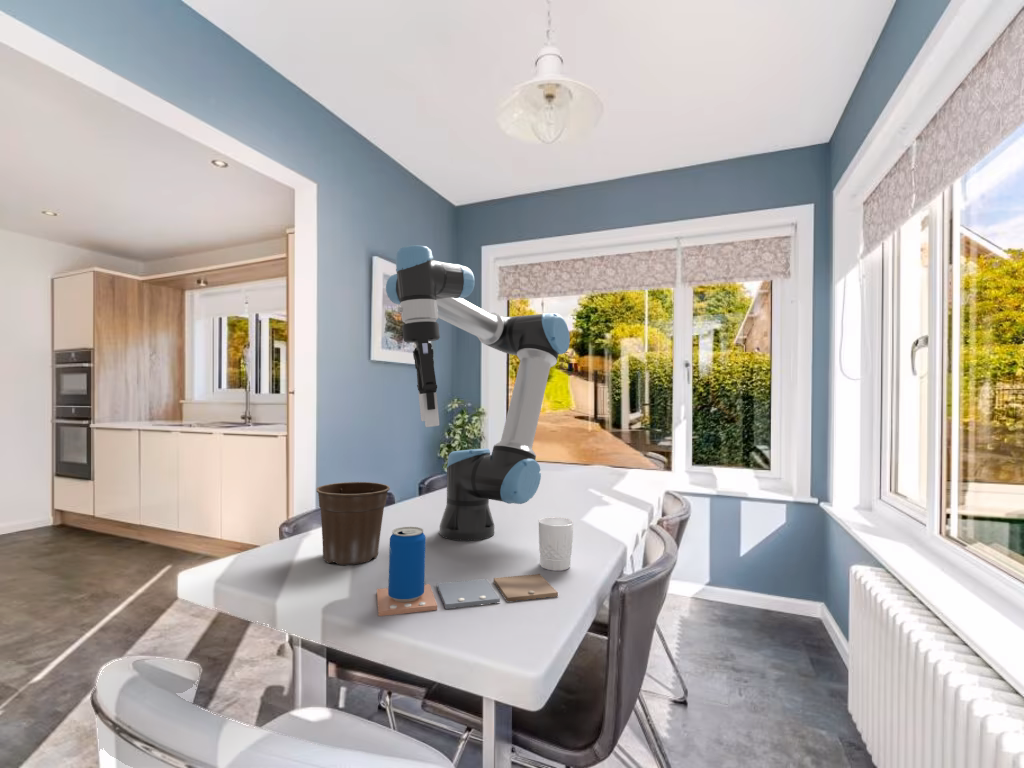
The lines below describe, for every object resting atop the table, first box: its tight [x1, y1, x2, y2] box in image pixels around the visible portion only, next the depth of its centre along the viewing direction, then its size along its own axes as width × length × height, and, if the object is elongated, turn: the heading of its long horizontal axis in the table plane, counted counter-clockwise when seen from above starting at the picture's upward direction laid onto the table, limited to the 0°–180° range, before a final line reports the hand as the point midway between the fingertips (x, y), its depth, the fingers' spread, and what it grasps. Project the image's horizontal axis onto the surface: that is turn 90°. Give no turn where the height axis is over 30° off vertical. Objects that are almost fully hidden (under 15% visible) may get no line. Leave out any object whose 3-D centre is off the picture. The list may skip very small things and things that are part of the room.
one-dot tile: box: [493, 573, 559, 602], centre depth 96 cm, size 10×10×1 cm
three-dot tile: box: [376, 583, 438, 617], centre depth 89 cm, size 10×10×1 cm
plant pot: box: [315, 481, 391, 566], centre depth 113 cm, size 16×16×16 cm
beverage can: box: [387, 526, 427, 602], centre depth 89 cm, size 6×6×12 cm
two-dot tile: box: [436, 578, 501, 610], centre depth 92 cm, size 10×10×1 cm
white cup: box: [538, 516, 574, 572], centre depth 110 cm, size 8×8×10 cm
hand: (429, 423), depth 102 cm, fingers open, 13 cm apart
